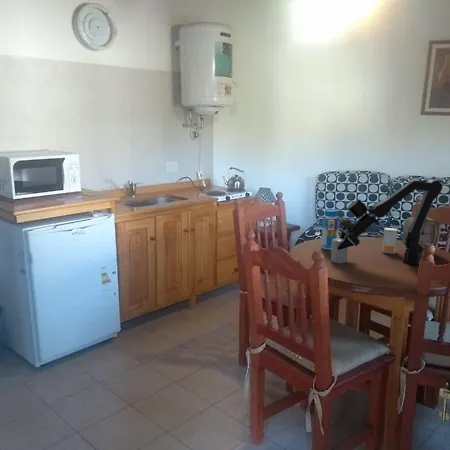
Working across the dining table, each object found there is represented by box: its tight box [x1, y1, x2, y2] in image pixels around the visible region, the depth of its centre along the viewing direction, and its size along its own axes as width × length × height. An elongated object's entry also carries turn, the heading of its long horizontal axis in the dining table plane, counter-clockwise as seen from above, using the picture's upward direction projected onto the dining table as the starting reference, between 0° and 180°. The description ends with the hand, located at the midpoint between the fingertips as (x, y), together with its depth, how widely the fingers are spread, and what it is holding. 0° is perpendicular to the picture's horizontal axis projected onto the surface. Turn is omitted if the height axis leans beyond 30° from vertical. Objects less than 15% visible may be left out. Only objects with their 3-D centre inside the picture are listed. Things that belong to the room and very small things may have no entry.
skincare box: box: [381, 227, 399, 255], centre depth 231 cm, size 6×4×12 cm
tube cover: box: [330, 237, 349, 264], centre depth 216 cm, size 7×7×10 cm
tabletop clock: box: [402, 203, 440, 248], centre depth 229 cm, size 14×9×25 cm, turn 92°
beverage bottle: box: [321, 208, 340, 251], centre depth 237 cm, size 8×8×20 cm
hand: (336, 247), depth 215 cm, fingers closed on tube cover, 7 cm apart
